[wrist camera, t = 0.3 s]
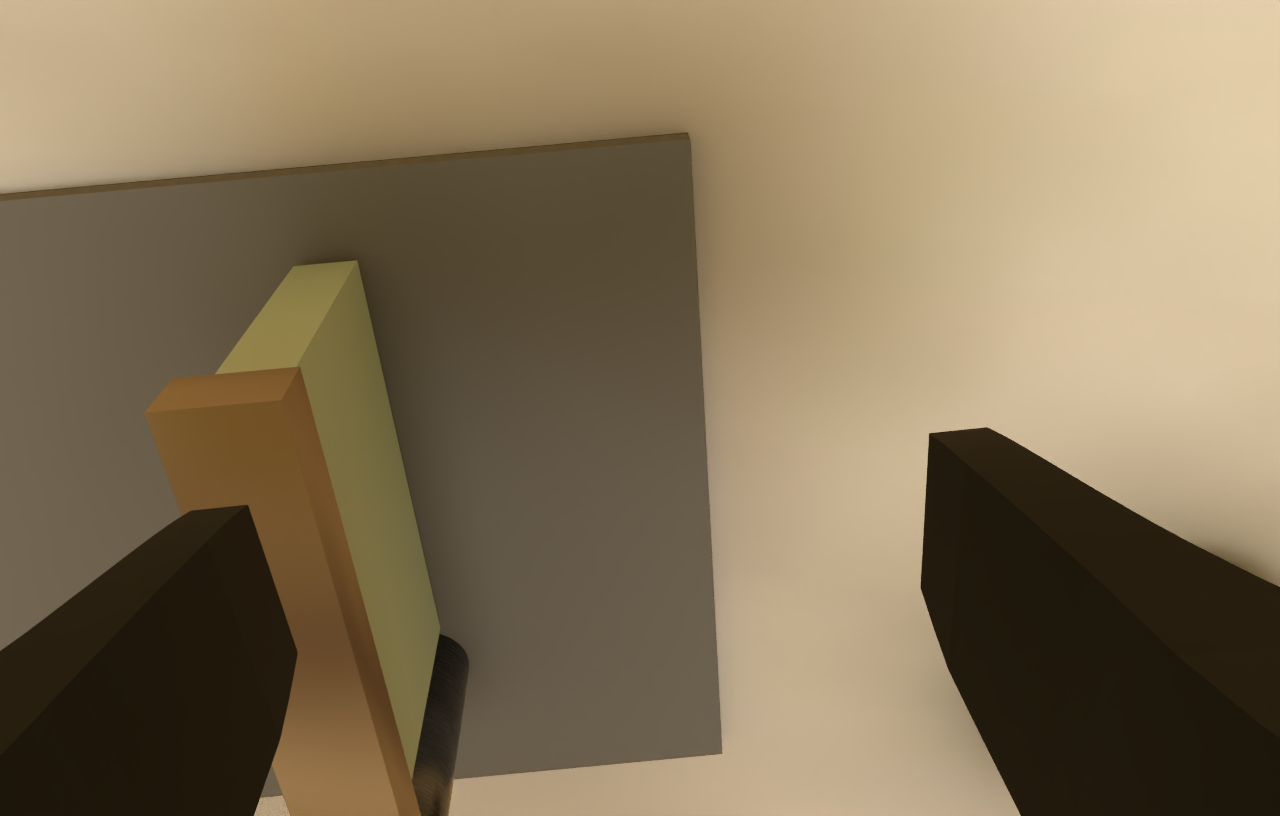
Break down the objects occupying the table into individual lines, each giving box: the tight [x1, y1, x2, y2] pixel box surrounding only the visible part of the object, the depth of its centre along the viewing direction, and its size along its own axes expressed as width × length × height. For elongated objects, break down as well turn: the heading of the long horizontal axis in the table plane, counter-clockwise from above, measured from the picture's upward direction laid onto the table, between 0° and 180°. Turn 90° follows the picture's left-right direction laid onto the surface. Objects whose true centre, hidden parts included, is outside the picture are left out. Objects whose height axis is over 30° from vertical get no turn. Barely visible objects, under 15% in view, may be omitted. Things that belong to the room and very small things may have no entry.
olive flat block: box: [144, 260, 440, 816], centre depth 18 cm, size 10×2×6 cm, turn 4°
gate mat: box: [0, 133, 722, 816], centre depth 19 cm, size 16×18×8 cm
